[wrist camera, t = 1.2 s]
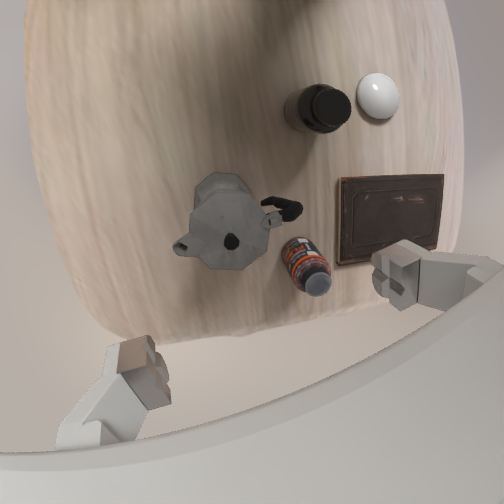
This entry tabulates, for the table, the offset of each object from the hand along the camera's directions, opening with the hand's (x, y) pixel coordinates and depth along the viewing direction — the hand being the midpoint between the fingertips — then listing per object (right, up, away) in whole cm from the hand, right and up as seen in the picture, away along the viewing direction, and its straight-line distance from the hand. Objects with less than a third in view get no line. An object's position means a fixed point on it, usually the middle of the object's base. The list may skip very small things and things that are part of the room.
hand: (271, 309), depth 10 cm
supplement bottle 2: (+7, +2, +42) cm, 43 cm away
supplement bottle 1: (+7, +24, +33) cm, 41 cm away
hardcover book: (+25, +9, +42) cm, 50 cm away
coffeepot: (-4, +10, +37) cm, 38 cm away
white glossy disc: (+20, +28, +32) cm, 47 cm away
